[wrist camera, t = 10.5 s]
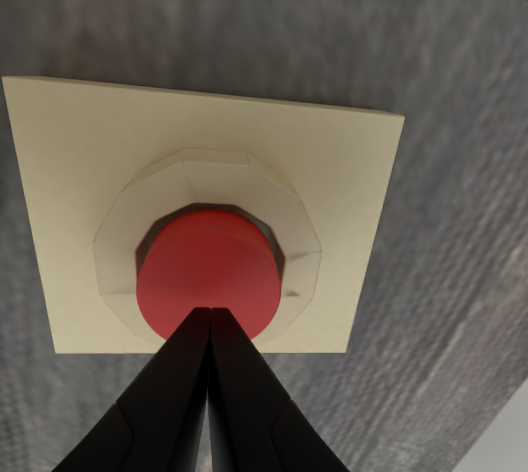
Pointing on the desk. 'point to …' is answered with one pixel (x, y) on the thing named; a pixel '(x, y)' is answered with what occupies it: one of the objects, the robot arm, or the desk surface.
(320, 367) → the desk surface
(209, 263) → the button
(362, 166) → the button box
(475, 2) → the desk surface
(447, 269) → the desk surface
